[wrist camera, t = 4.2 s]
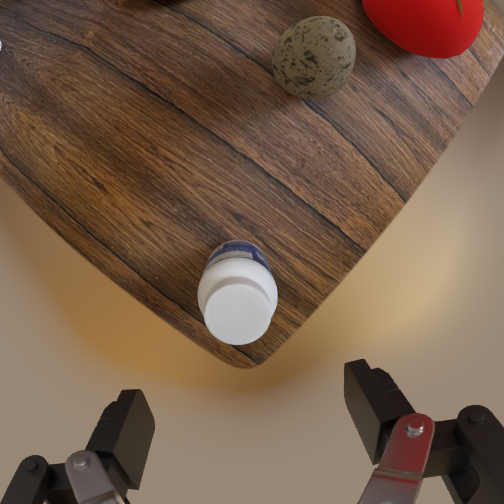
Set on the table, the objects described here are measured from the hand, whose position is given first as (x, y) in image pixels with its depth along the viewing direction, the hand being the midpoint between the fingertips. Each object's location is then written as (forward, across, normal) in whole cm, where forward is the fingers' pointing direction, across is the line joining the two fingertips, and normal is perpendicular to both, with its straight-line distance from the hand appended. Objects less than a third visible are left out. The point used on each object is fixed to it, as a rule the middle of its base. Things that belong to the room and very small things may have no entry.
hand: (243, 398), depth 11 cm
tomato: (+17, -20, -23) cm, 35 cm away
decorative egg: (+17, -8, -16) cm, 25 cm away
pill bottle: (+17, 0, 0) cm, 17 cm away
